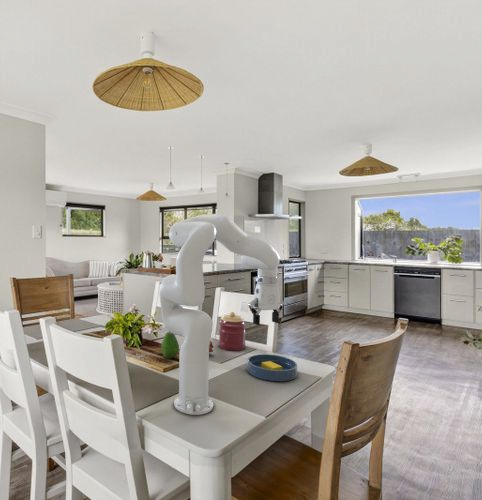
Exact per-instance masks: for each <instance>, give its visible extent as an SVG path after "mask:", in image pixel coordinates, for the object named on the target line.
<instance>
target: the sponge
mask: <svg viewBox="0 0 482 500" xmlns="http://www.w3.org/2000/svg"><path fill="white" fill-rule="evenodd" d="M261 368H264V369H269V370H282V366H280V365H278V364H275V363H273V362H271V361H267V362H262V364H261Z"/></svg>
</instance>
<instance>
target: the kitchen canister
mask: <svg viewBox="0 0 482 500" xmlns="http://www.w3.org/2000/svg"><path fill="white" fill-rule="evenodd" d="M244 321H245V318H243V317H242V316H241V315H237V314H236V313H235V312H234V311H230V313H229V314H225V315H223V316H222V317H221V318H220V321H219V322H218V324H219V328H218V331H219V336H218V337H219V340H218V346H219V348H221V349H223V350H227V351H233V352H234V351H243V350H244V349H245V348H246V332H247V331H246V328H245V327H246V324H247V323H245V322H244Z"/></svg>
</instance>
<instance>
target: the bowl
mask: <svg viewBox="0 0 482 500" xmlns="http://www.w3.org/2000/svg"><path fill="white" fill-rule="evenodd" d="M267 361H271V362H273V363H275V364H278V365H280V366H282V370H269V369H264V368H261V364H262V362H267ZM246 370H247V372H248V373H249V374H250V375H252V376H253V377H256V378H258V379H260V380H264V381H269V382H287V381H293V380H294V379H296V378H297V377H298V363H297V362H296V361H294V360H293V359H291V358H288V357H286V356H283V355H277V354H269V353H267V354H266V353H259V354H253V355H251V356H249V357H247V359H246Z"/></svg>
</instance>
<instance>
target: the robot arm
mask: <svg viewBox="0 0 482 500" xmlns="http://www.w3.org/2000/svg"><path fill="white" fill-rule="evenodd" d="M168 238H169V241H170V242H171V244H172V245H174V246H175V247H178V248H180V250H179V251H178V253H177V255H176V258H175V274H169V275H167V276H165V277H164V278H163V279H162V281H161V283H160V286H159V301H160V302H159V304H160V311H161V312H160V313H161V320H162V324H163V326H164V328H165V330H166V332H167V331H168V332H171V333H173V334H174V335H175V336H179V337H182V338H184V341H183V342H182V344H181V346H180V347H179V351H178V353H179V355H178V357H179V358H178V359H179V362H178V364H179V365H178V374H179V375H178V396H177V397H176V398H175V399H174V402H173V406H174V408H175V409H176V410H177V411H178V412H179V413H182V414H185V415H191V416H199V415H200V416H201V415H204V414H208V413H210V412H211V411H213V409H214V402H213V400H212V399H210V398H209V383H210V382H209V381H210V380H209V379H210V377H209V376H210V375H209V374H210V373H209V372H210V370H209V369H210V366H209V365H210V352H209V343H210V341H211V337H212V332H213V326H214V324H213V320H212V318H211V316H210V315H209V314H208V313H207V312H205V311H203V310H201V309H197V308H195V307H199V306H201V305H202V304H203V303H204V301H205V298H206V294H205V293H206V292H205V291H206V290H205V279H204V270H203V269H204V267H203V263H204V257H205V255H206V253H207V251H208V250H209V249H210V247H211V246H212V245H213V243H214V241H215V240H216V241H217V242H218V243H219V244H221V245H222V246H223V247H224V248H226V249H227V250H228V251H229V252H230V253H233V254H236V255H240V261H241V264H242V265H243V266H244V267H245V268H248V269H253V270H257V277H256V278H255V281H256V284H255V288H254V293H253V294H254V295H253V300H251V301H249V302H248V303H247V305H248V308H249V311H250V312H251V314H252V324H254V325H256V326H260V325H261V315H260V313H261V311H272V312H271V322H272V323H274V324H279V322H280V314H281V310H283V307H284V305H285V302H284V301H283V300H282V299H281V290H280V286H279V283H278V266H279V265H280V255H279V253H278V251H277V250H276V249H275V248H274V247H273V246H272V245H271V243H268V242H267V241H265V240H263V239H261V238H259V237H256V236H254V235H252V234H249V233H247V232H245V231H244V230H243V229H242V228H241V227H240V226H239V225H237V224H236V223H235V222H234V221H233V220H232V219H231V218H230V217H229V216H227V215H225V214H224V213H208V214H207V213H205V214H200V215H196V216H192V217H190V218H186V219H183V220H179V221H177V222H175V223H173V224H172V225H171V227H170V229H169V232H168Z"/></svg>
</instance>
